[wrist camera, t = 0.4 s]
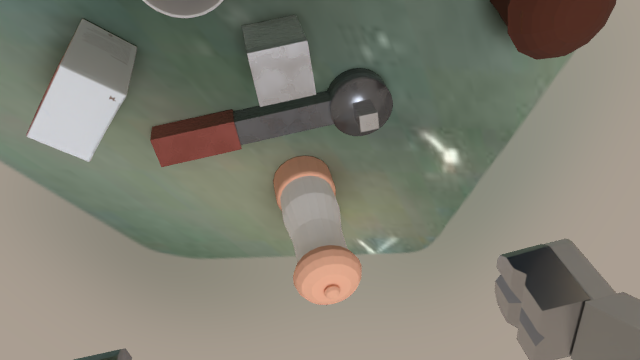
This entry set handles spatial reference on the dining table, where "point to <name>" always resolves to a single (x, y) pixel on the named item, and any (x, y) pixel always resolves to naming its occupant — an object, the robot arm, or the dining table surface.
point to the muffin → (552, 24)
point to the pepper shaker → (315, 231)
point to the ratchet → (279, 119)
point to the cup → (183, 7)
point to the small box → (84, 92)
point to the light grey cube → (279, 60)
